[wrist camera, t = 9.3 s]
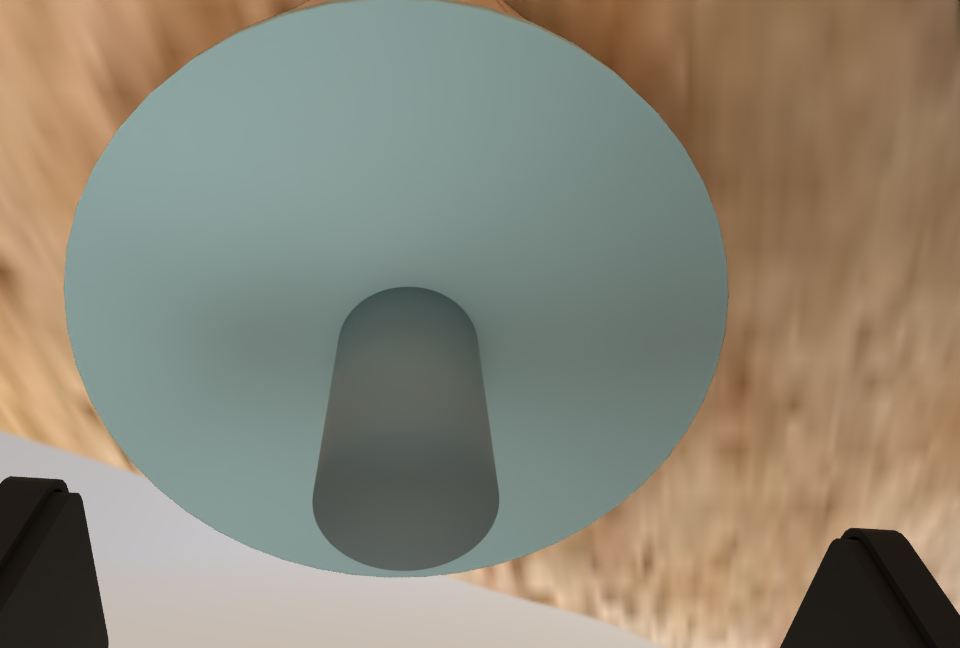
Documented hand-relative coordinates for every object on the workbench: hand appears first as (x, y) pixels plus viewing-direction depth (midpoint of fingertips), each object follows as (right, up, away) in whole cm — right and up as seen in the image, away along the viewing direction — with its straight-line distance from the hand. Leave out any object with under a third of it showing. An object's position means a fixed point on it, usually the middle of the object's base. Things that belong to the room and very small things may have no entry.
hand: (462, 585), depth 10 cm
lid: (-1, +3, +6) cm, 7 cm away
